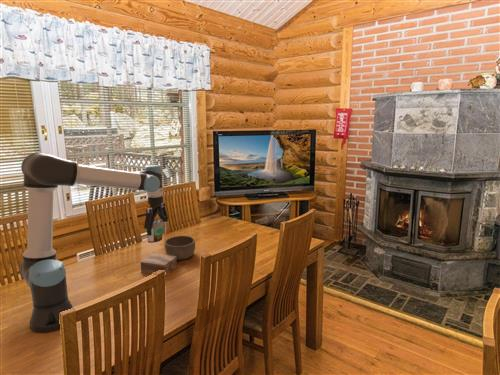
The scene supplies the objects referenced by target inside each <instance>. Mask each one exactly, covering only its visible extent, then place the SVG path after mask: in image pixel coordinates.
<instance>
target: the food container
mask: <svg viewBox="0 0 500 375" xmlns="http://www.w3.org/2000/svg"><path fill="white" fill-rule="evenodd" d="M163 225H164V222H163V220H162V219H160V217H156V220H154V223H153V226H152V229H153V235H154V241H153V242H152V241H148V240H147V243H149V244H152V243H158V242H161V241H162V240H163V234H162V232H163ZM146 235H147V239H148V232H147V231H146Z"/></svg>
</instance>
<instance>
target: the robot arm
mask: <svg viewBox="0 0 500 375" xmlns="http://www.w3.org/2000/svg"><path fill="white" fill-rule="evenodd" d="M20 167H21V172H22V175H23V187H24V189H26V190H27V249H26V250H25V251H24V252H23V253H22V261H21V263H20V266H19V267H20V268H19V272H20V275H21V278H22V279H23V280H24V281H25V282H26V284H27V286H28V287H29V289H30V291H31V298H32V305H33V308H32V312H31V317H30V320H29V327H30V330H31V331H32V332H35V333H50V332H55V331H58V330H61V329H60V324H59V313H60V312H62V311H65V310H68V309H71V308H74V307H73V304H72V303H71V301H70V299H69V293H68V286H67V275H66V274H67V271H66V268H65V264H64V263H63V262H62V261H60V260H58V259H57V251H56V249H54V248H53V230H54V224H53V223H54V191H55V190H56V189H57V188H59V186H64V187H74V186H75V185H82V186H83V185H84V186H93V187H94V186H95V187H104V188H114V189H126V190H134V191H135V190H136V191H144V192H146V194H147V204H148V205H149V208H146V209H145V219H144V220H145V221H144V225H143V227H144V228H143V229H144V230H146V233H147V232H148V238H147V242H148V241H152V242H153V241H154V235H153V229H152V226H153V223H154V221H155V219H156V218H157V215H158V216H159V217H158V218H160V219H162V220H163V222H164V225H163V232H162V235H167V222H168V221H169V215H168V212H167V208H166V203H165V202H164V190H163V170H162V166H161V165H159V164H149V165H146V166H145V169H144V170H137V171H127V170H119V169H113V168H112V169H111V168H105V167H97V166H93V165H92V166H91V165H85V164H79V163H78V162H77V161H74V160H69V159H65V158H61V157H58V156H55V155H52V154H49V153H46V152H42V151H41V152H32V153H30V154H28V155H27V156H26V157H24V159H23V160H22V162H21V166H20Z"/></svg>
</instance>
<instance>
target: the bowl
mask: <svg viewBox="0 0 500 375" xmlns="http://www.w3.org/2000/svg"><path fill="white" fill-rule="evenodd" d="M164 249H165V250H164V251H165V255H170V256H177V261H179V260H186V259H188V258H191V256H193V254H194V253H195V251H196V240H195V238H193V237H192V236H189V235H176V236H172V237H171V236H170V237H169V238H167V239H166V240H165V241H164Z"/></svg>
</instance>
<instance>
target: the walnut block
mask: <svg viewBox="0 0 500 375" xmlns="http://www.w3.org/2000/svg"><path fill="white" fill-rule="evenodd" d="M177 261H178V260H177V256H170V255H167V254H162V253H161V254H160V253H156V252H155V253H152V254H151V255H149V256H147V257H146V258H144V259H143V260H141V261H140V273H141V274H147V275H152V273H153V272H156V271H158V270H165V272H166V276H168V275H169V274H170V273H171V272H173V271H174V270H175V269H176V268H177V267H178V262H177ZM168 273H169V274H168ZM167 274H168V275H167Z"/></svg>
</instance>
